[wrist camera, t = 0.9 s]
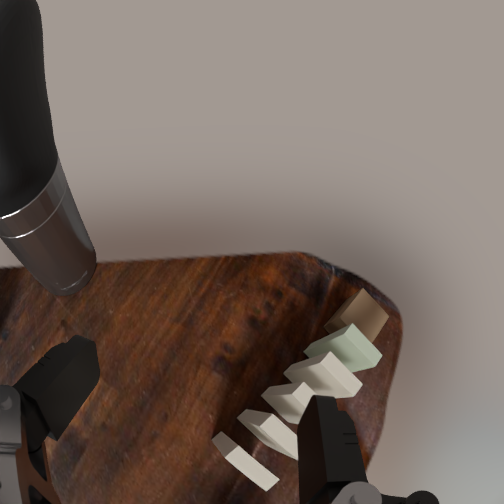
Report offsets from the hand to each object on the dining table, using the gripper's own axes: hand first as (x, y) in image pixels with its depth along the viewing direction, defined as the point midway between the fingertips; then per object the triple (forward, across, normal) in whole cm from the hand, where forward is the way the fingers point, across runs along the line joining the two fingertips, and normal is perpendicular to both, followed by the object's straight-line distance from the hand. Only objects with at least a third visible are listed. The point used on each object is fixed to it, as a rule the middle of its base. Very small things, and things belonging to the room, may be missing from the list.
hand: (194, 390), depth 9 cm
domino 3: (+12, -3, +22) cm, 25 cm away
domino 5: (+20, -10, +16) cm, 27 cm away
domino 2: (+14, -5, +20) cm, 25 cm away
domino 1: (+17, -8, +18) cm, 26 cm away
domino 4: (+22, -12, +14) cm, 29 cm away
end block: (+27, -16, +11) cm, 33 cm away
